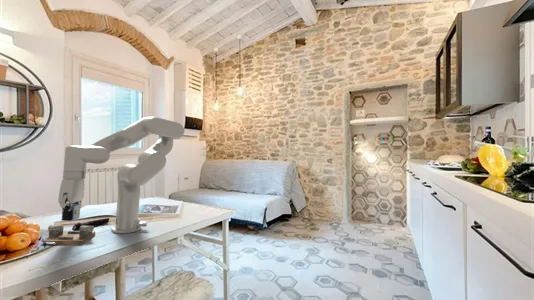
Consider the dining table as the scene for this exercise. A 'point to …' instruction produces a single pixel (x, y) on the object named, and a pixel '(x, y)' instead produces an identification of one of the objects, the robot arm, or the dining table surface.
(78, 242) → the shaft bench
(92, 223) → the electric trimmer
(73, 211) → the blue grey block
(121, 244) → the dining table surface
